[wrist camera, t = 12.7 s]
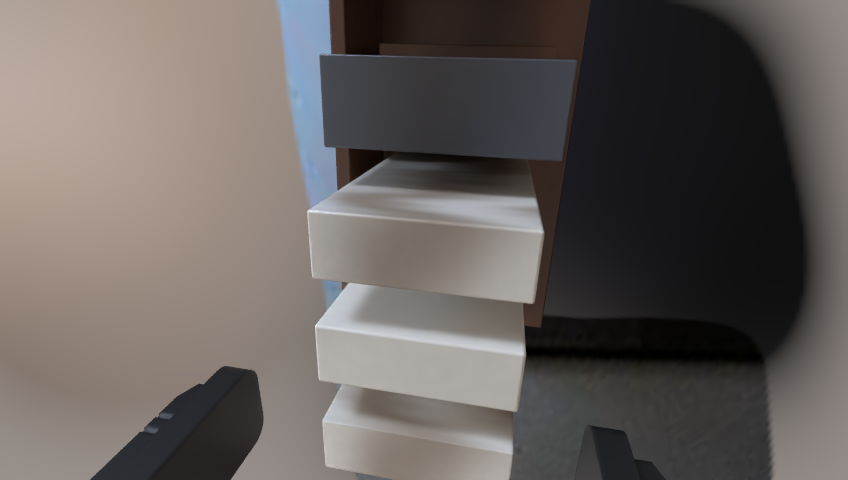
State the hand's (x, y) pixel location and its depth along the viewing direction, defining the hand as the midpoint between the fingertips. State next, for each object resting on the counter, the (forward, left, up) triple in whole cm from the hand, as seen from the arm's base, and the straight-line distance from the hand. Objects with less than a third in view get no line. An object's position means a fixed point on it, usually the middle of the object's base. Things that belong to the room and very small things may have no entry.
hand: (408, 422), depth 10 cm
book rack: (0, -5, -15) cm, 16 cm away
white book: (0, 0, -14) cm, 14 cm away
